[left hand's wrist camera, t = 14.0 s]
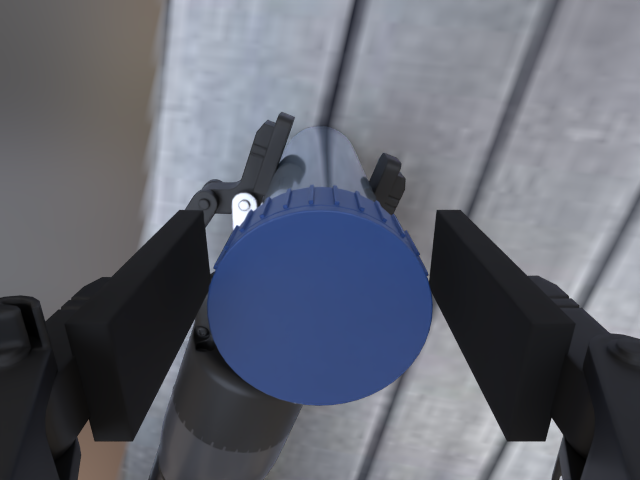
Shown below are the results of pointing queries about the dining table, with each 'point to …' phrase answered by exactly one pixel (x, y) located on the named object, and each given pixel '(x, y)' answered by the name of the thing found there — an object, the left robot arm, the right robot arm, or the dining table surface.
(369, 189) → the blue-grey bottle
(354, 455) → the dining table surface
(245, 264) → the lid
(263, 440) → the right robot arm
